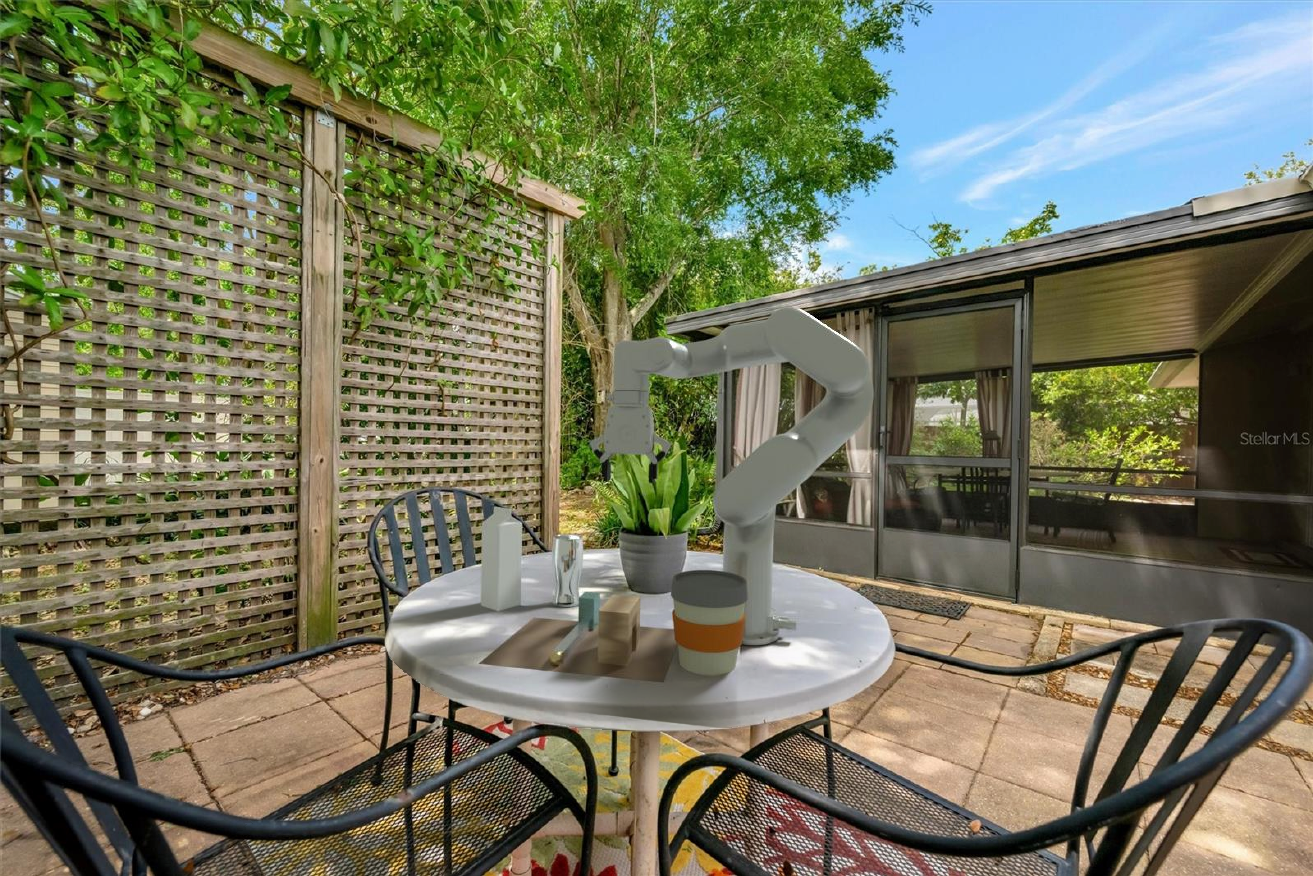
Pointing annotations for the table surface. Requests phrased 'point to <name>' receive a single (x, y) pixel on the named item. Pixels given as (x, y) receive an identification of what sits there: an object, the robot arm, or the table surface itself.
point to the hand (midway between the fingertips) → (629, 481)
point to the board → (584, 651)
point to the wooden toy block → (618, 629)
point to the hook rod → (579, 627)
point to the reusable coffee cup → (708, 619)
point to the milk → (501, 561)
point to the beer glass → (567, 568)
